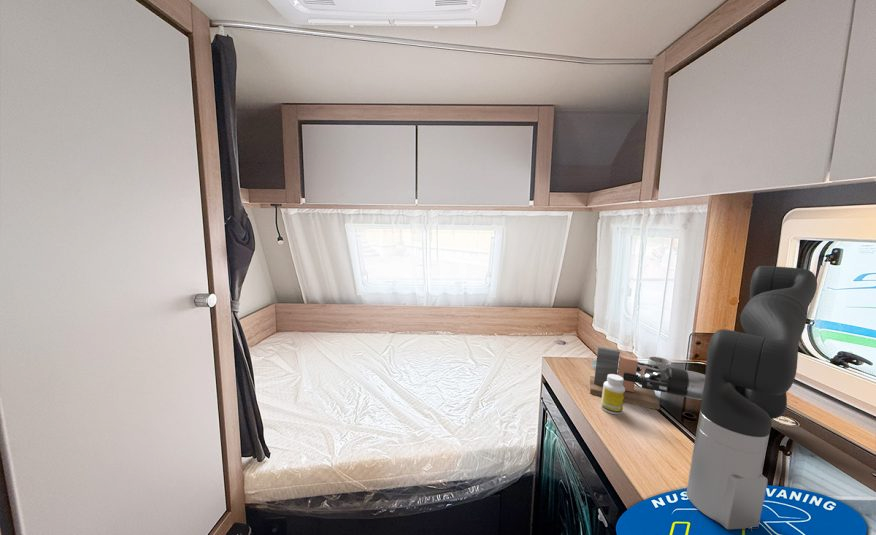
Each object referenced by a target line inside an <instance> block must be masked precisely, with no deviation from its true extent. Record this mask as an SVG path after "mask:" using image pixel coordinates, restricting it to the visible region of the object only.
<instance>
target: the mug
mask: <svg viewBox="0 0 876 535" xmlns="http://www.w3.org/2000/svg"><path fill="white" fill-rule="evenodd" d="M647 360H648V361H647V364H650V365H655V366H658V367H659V368H658V370H660V371H663V372H664V371H666V368H668V367H672V364H673V363H672V361H670V360H668V359H666V358H663V357H659V356H649V357H648V359H647Z"/></svg>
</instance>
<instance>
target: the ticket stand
mask: <svg viewBox="0 0 876 535" xmlns="http://www.w3.org/2000/svg"><path fill="white" fill-rule="evenodd" d="M596 352H597V353H596V360H595V361H596V365H595V366H596V368H595V371H594V376H593V375H590V377H589V394H591V395H596V396H598V397H599V396H600V397H602V392H603V384H604V382H606V381H607V376H608V374H615V375H617V374H618V366H619V358H620V356H621V351H620V350H618V349H614V348H608V347H603V346H597V351H596ZM624 402H625V403H629V404H633V405H637V406H642V407H646V408H650V409H654V410H658V411H659V410H660V407H661V405H660V402H659V399H658V397H657V395H656V392H655V390H650V389H645V388H642V386H640V385H639V386H638V385H635V386H634V392H631V391H626V390H625V394H624V401H623V403H624Z"/></svg>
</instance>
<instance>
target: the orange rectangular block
mask: <svg viewBox="0 0 876 535" xmlns="http://www.w3.org/2000/svg"><path fill="white" fill-rule="evenodd" d="M638 362H639V360H638V358H636V357H635V358H634V357H630V356H624V355H620V356H619V363H618V371H617V375H619V376H621V377H622V378H623V376H624V373H625V372H626V373H631V374H636V375H637V372H636V371H637V364H638ZM635 384H636V383H635V382H631V381H626V380H623V384H622V385H623V386H624V388H625V390H626V391H631V392H634V386H636V385H635Z"/></svg>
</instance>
